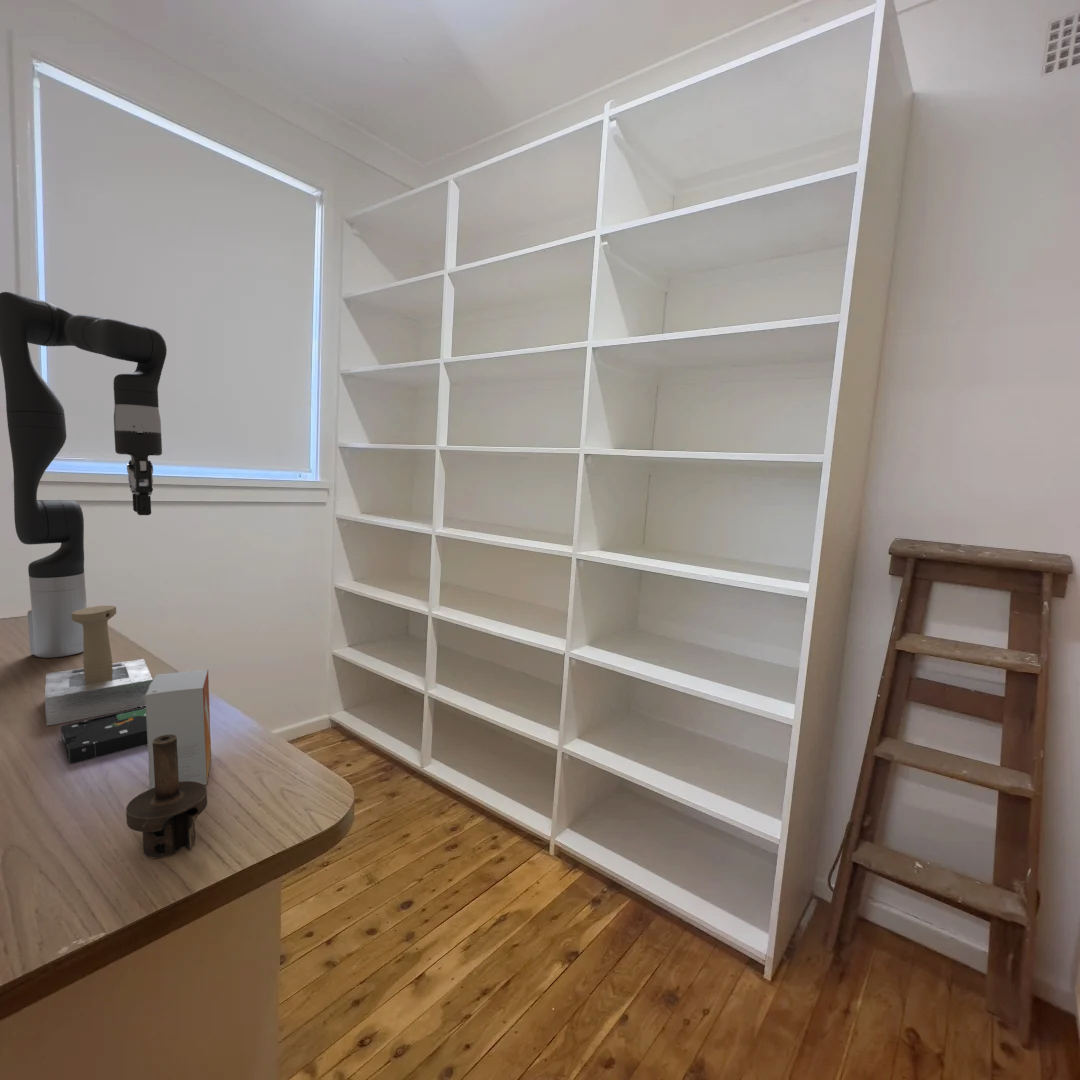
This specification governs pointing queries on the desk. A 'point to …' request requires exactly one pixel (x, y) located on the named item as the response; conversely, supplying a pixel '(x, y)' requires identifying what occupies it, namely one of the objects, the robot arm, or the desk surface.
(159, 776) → the industrial component
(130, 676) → the socket block
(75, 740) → the disk drive
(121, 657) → the desk surface
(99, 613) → the handle
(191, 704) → the small box
